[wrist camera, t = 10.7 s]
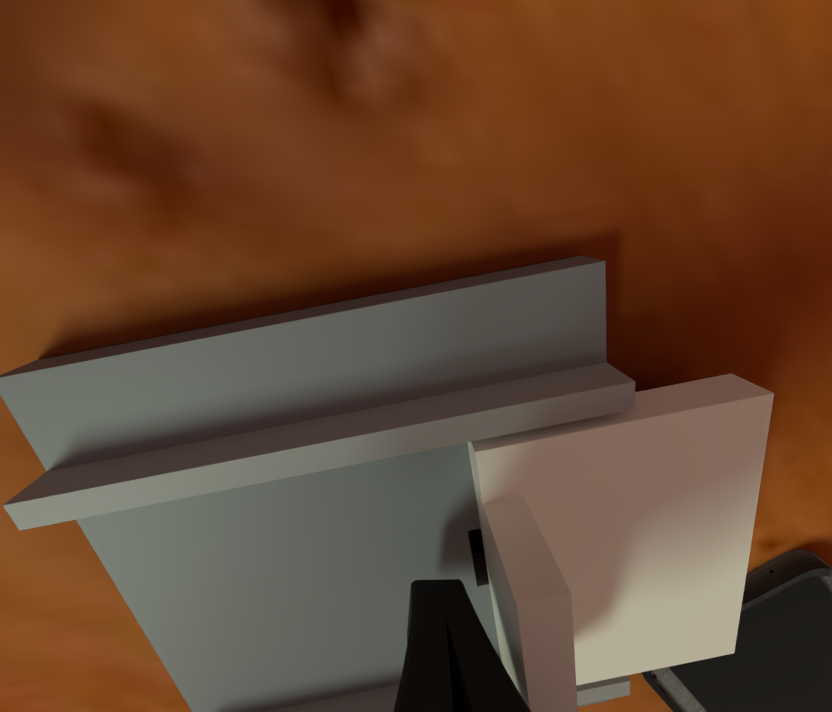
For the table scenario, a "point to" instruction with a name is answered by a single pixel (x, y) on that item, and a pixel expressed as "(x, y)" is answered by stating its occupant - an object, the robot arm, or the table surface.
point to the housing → (309, 472)
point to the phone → (766, 647)
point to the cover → (622, 535)
